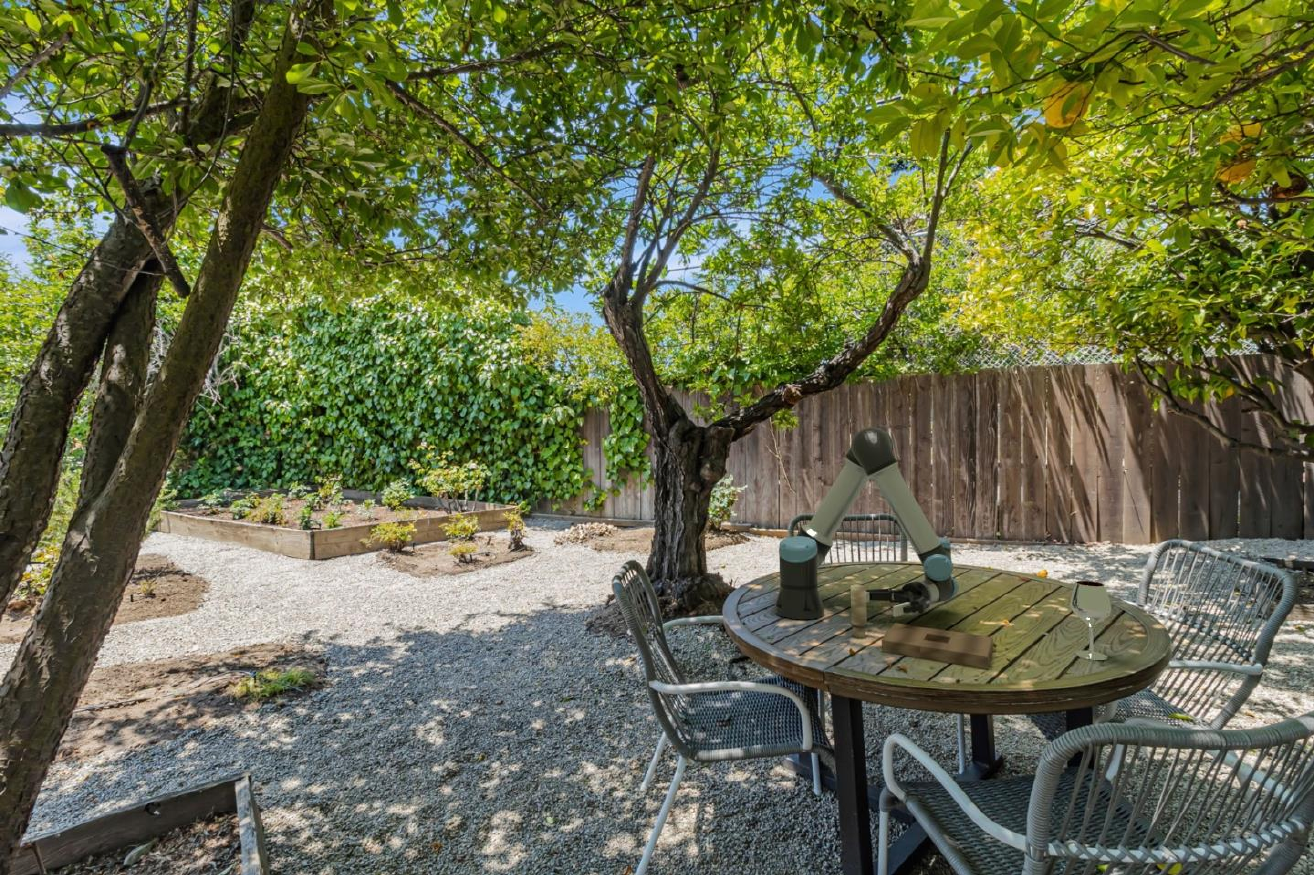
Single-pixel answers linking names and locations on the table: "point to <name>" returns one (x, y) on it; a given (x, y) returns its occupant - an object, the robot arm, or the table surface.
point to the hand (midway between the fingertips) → (873, 605)
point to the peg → (858, 610)
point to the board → (939, 645)
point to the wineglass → (1090, 610)
